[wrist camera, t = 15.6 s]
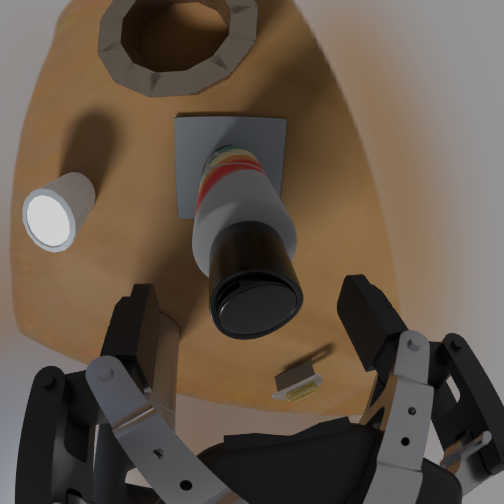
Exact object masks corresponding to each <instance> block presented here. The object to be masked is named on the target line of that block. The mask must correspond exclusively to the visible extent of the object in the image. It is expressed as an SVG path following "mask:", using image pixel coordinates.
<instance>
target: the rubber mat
mask: <svg viewBox="0 0 504 504" xmlns="http://www.w3.org/2000/svg"><path fill="white" fill-rule="evenodd" d="M174 123H175V166H176V187H177V204H178V218H179V219H195V214H196V207H197V200H198V194H199V188H200V182H201V176H202V170H203V166H204V163H205V161H206V159H207V157H208V156H209V155H210V154H211V153H212V152H213V151H214V150H215V149H217V148H219V147H221V146H224V145H239V146H242V147H244V148H246V149H248V150H249V151H250V152H251V153H252V154H253V155H254V156H255V157H256V159H257V160H258V162H259V164H260V165H261V167H262V169H263V170H264V172H265V174H266V175H267V177H268V179H269V180H270V182H271V184H272V186H273V187H274V189H275V191H276V192H277V194H278V196H279V198H280V193H281V182H282V172H283V161H284V150H285V138H286V126H287V119H282V118H267V117H245V116H197V117H175V118H174Z"/></svg>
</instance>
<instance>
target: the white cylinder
mask: <svg viewBox="0 0 504 504" xmlns="http://www.w3.org/2000/svg"><path fill="white" fill-rule="evenodd" d="M95 197H96V194H95V190H94V187H93V185H92V183H91V182H90V180H89V179H88V178H87V177H86V176H84V175H83V174H81V173H77V172H71V173H68V174H65V175H63V176H61V177H59V178H57V179H55V180H53V181H51V182H49V183H47V184H45V185H43V186H41V187H39V188H38V189H36V190H34V191H32V192H31V193H30V194H29V196H28V197H27V198H26V199H25V202H24V206H23V210H22V212H23V223H24V225H25V228H26V230H27V233H28V234H29V236H30V237H31V238H32V240H33V241H34V242H35V243H36V244H37V245H39V246H40V247H41V248H43V249H44V250H47V251H51V252H59V251H64V250H65V249H67V248H68V247H69V246H70V245H71V244H72V242H73V241H74V239H75V237H76V235H77V234H78V232H79V230H80V228H81V227H82V225H83V223H84V222H85V220H86V219H87V217H88V215H89V214H90V212H91V210H92V208H93V206H94V204H95Z"/></svg>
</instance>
